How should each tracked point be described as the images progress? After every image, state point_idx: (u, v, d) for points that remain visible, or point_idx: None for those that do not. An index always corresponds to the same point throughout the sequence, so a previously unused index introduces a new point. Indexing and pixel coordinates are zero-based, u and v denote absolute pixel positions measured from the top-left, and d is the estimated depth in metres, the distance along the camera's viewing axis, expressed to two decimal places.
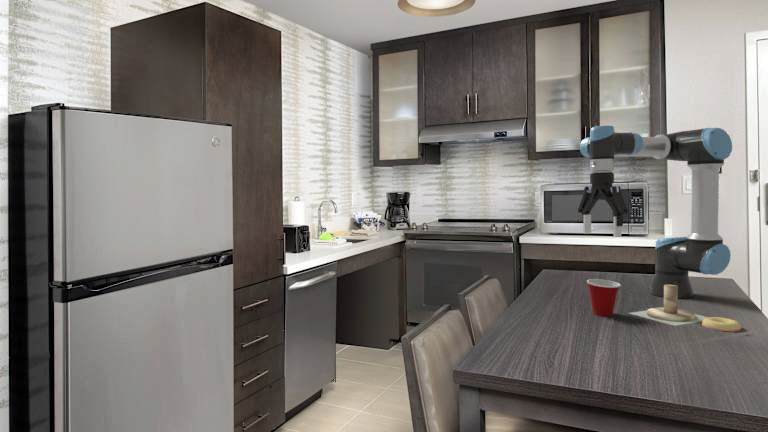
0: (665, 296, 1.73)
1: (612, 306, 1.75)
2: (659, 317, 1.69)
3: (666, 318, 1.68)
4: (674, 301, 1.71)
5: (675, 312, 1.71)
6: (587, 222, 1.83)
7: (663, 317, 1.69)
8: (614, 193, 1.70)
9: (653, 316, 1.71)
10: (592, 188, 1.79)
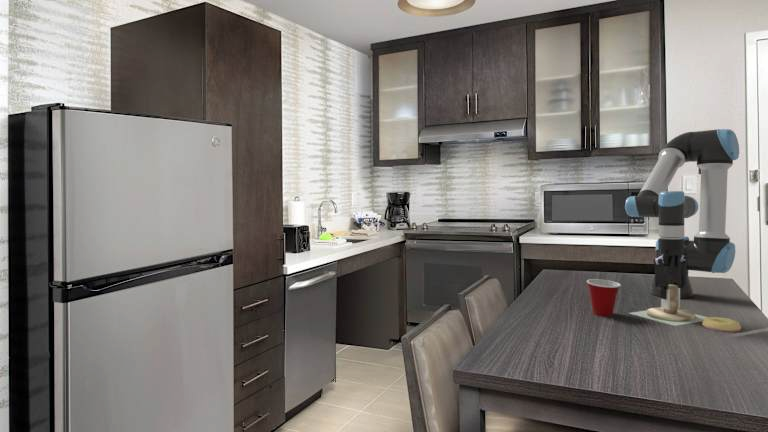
0: None
1: (612, 306, 1.75)
2: (659, 317, 1.69)
3: (666, 318, 1.68)
4: (674, 301, 1.71)
5: (675, 312, 1.72)
6: None
7: (663, 317, 1.69)
8: None
9: (653, 316, 1.71)
10: None
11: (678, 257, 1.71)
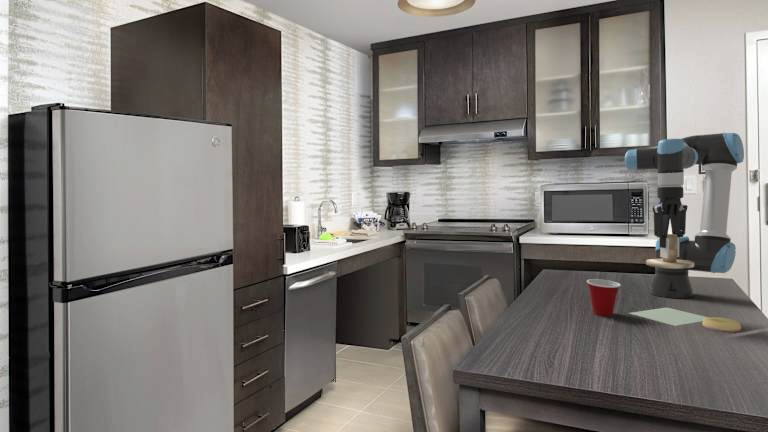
0: None
1: (612, 306, 1.75)
2: (658, 265, 1.69)
3: (665, 266, 1.67)
4: (674, 250, 1.70)
5: (674, 261, 1.71)
6: None
7: (662, 265, 1.68)
8: None
9: (652, 265, 1.70)
10: None
11: (677, 205, 1.70)
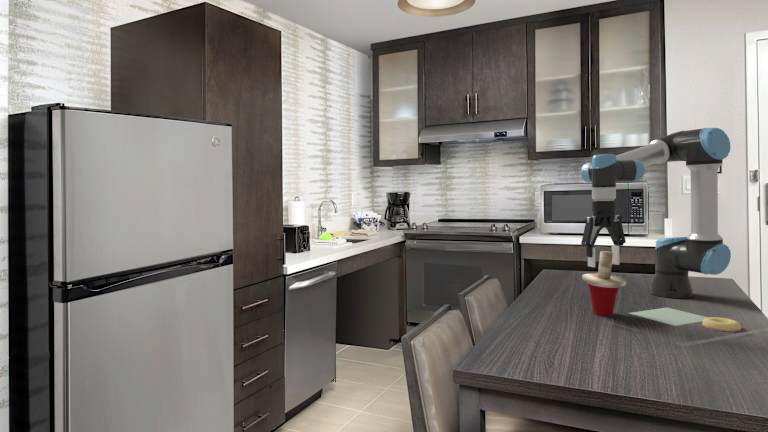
0: (600, 262, 1.76)
1: (612, 306, 1.75)
2: (591, 281, 1.74)
3: (597, 282, 1.72)
4: (608, 267, 1.75)
5: (608, 278, 1.76)
6: (614, 253, 1.79)
7: (595, 281, 1.73)
8: None
9: (586, 280, 1.76)
10: None
11: (610, 219, 1.75)
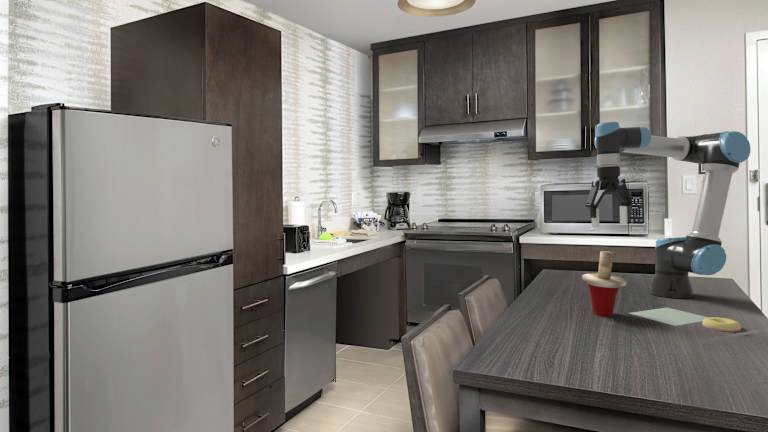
0: (600, 262, 1.76)
1: (612, 306, 1.75)
2: (591, 281, 1.74)
3: (598, 282, 1.72)
4: (608, 267, 1.75)
5: (608, 278, 1.76)
6: (622, 213, 1.89)
7: (595, 281, 1.73)
8: None
9: (586, 280, 1.76)
10: None
11: (615, 184, 1.84)
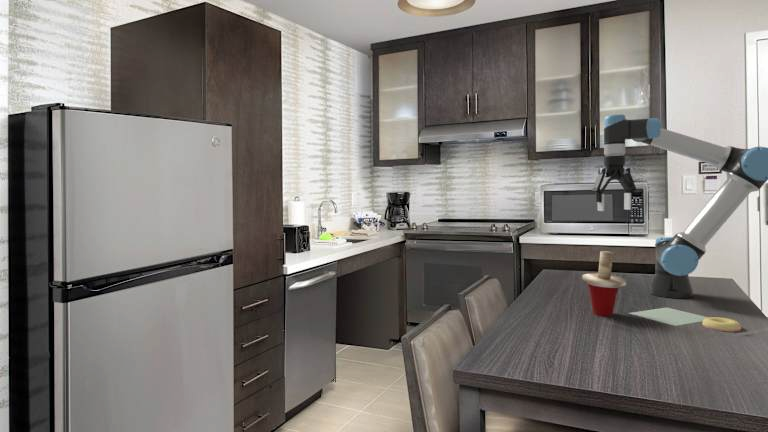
0: (600, 262, 1.76)
1: (612, 306, 1.75)
2: (591, 281, 1.74)
3: (598, 282, 1.72)
4: (608, 267, 1.75)
5: (608, 278, 1.76)
6: (626, 200, 2.05)
7: (595, 281, 1.73)
8: None
9: (586, 280, 1.76)
10: None
11: (620, 172, 2.01)
